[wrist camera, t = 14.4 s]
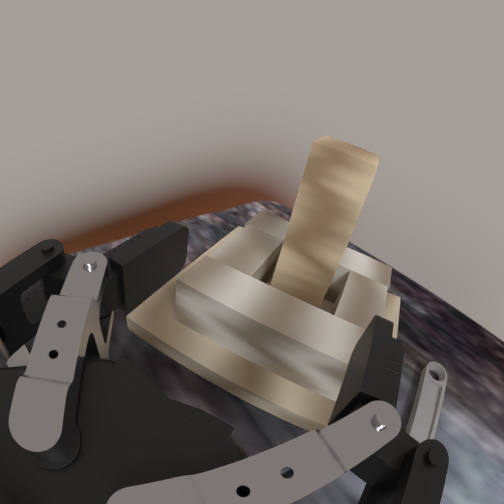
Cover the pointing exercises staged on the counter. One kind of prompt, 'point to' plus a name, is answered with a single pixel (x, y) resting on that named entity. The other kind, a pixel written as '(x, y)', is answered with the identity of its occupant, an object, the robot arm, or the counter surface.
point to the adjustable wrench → (427, 403)
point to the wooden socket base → (266, 323)
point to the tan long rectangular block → (323, 218)
